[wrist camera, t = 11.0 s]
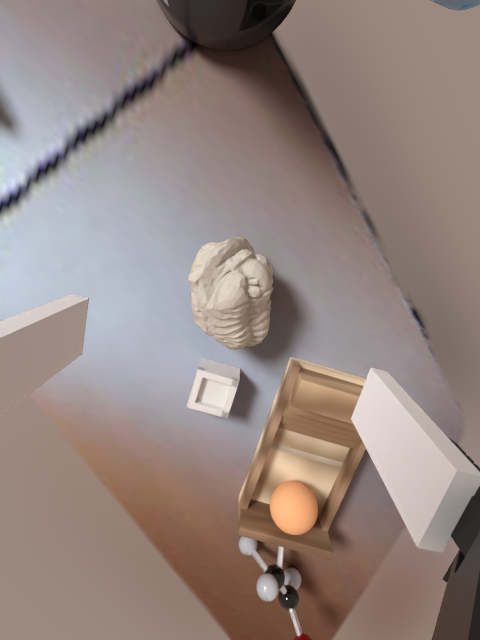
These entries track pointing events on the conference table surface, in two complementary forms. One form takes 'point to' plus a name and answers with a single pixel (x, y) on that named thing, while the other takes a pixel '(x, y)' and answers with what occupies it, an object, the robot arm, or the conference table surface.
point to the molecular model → (276, 582)
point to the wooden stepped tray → (304, 453)
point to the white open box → (214, 388)
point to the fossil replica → (232, 292)
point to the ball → (293, 507)
